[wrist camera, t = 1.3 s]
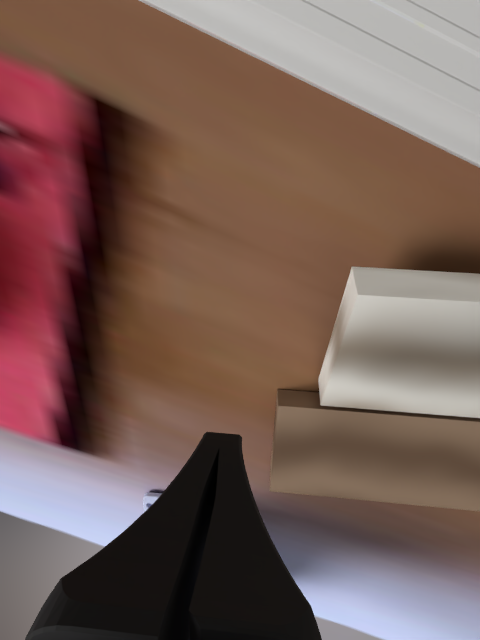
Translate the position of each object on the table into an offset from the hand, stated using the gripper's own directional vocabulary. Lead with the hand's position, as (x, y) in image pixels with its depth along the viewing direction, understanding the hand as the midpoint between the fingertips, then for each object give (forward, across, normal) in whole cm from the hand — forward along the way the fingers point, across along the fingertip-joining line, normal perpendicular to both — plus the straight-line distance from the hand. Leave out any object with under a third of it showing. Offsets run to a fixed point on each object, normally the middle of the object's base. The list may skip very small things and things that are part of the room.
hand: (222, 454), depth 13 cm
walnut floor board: (+9, -10, +6) cm, 16 cm away
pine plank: (+7, -10, -2) cm, 13 cm away
